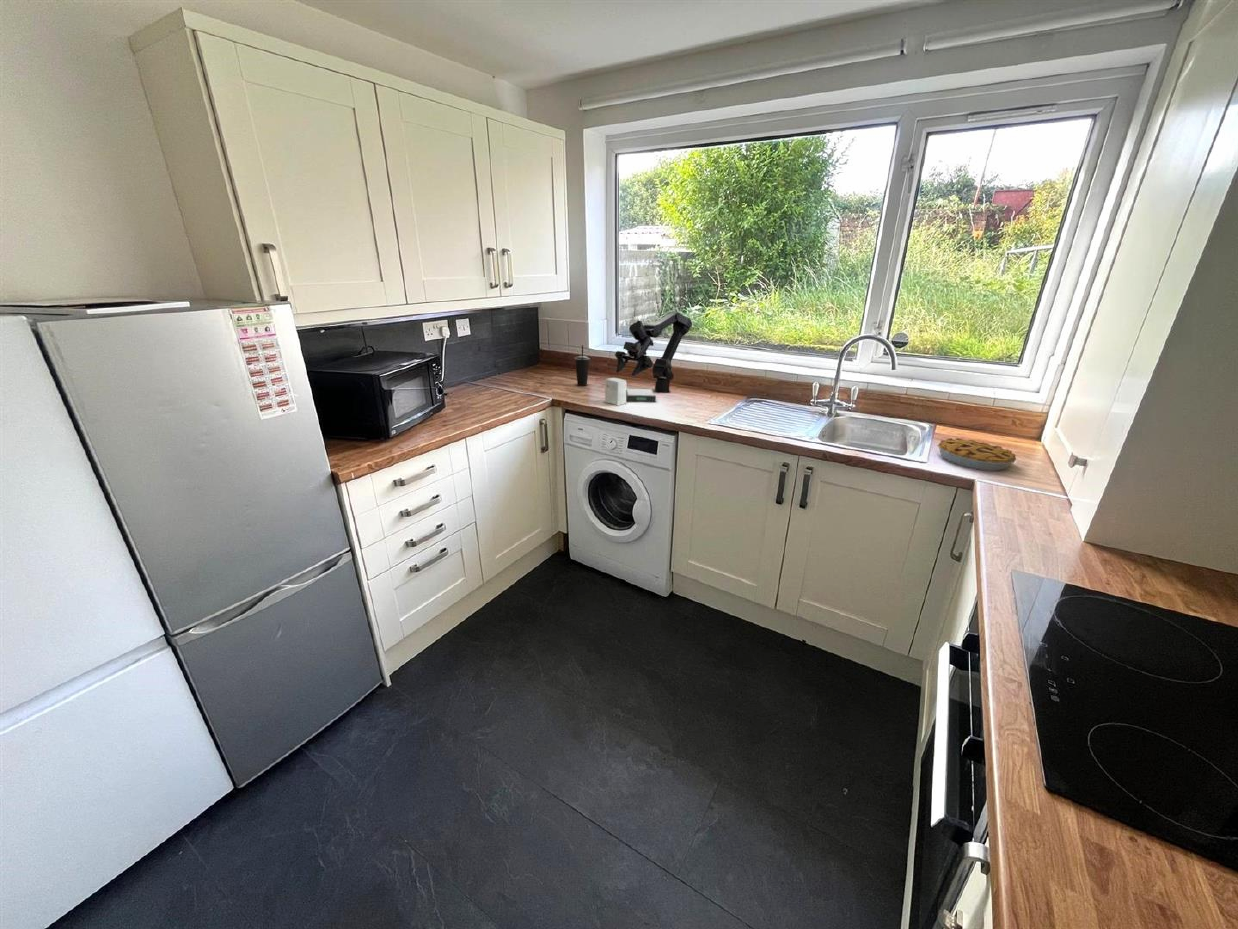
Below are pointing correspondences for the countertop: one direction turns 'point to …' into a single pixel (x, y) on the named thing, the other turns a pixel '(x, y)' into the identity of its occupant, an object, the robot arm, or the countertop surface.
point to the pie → (976, 454)
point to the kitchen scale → (640, 395)
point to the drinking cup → (582, 369)
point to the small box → (615, 391)
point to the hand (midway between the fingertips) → (624, 374)
